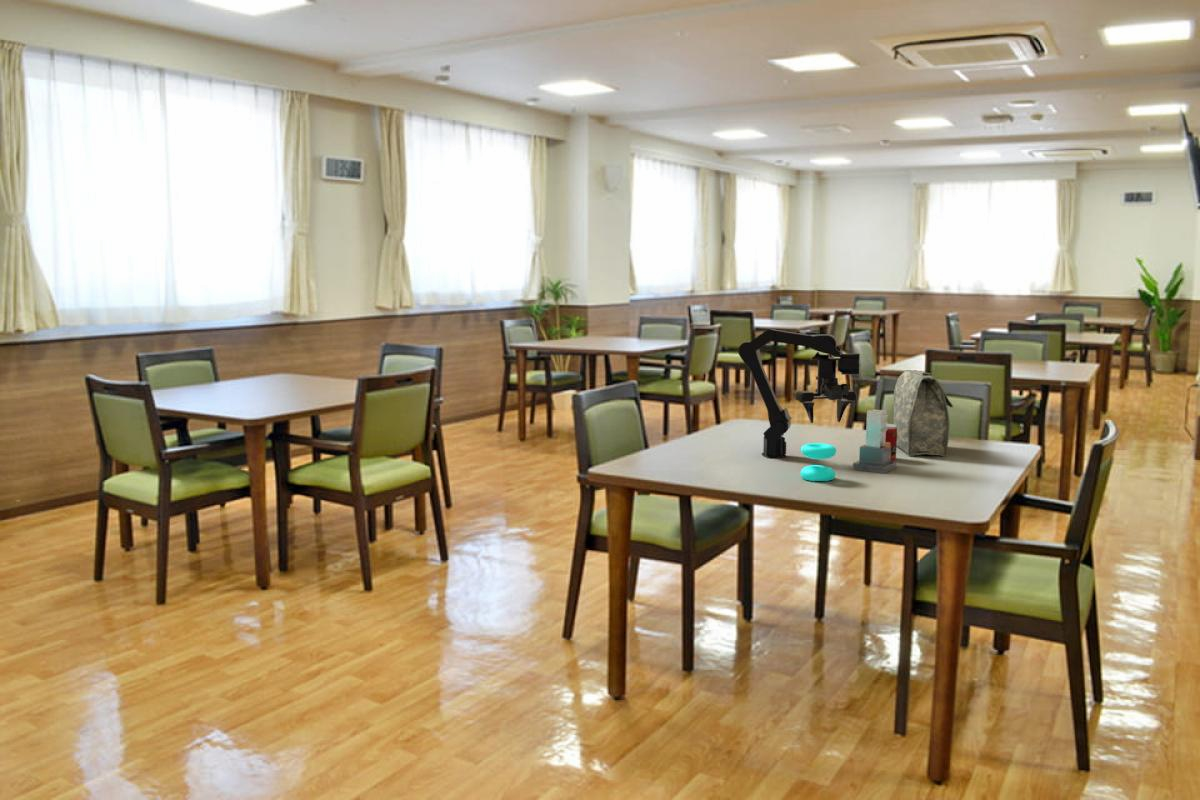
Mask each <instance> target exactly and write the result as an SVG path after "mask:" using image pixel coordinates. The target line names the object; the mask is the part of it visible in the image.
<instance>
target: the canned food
mask: <svg viewBox="0 0 1200 800" xmlns="http://www.w3.org/2000/svg"><path fill="white" fill-rule="evenodd" d="M886 428H887V431H886V441H885V443H886V442H891V444H890V446H891V460H893V461H896V458H897V448H898V447H897V425H893V423H888V424H886Z"/></svg>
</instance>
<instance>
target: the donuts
mask: <svg viewBox="0 0 1200 800" xmlns="http://www.w3.org/2000/svg"><path fill="white" fill-rule="evenodd" d="M800 449H801V450H800V451H801V453H802V455H803V456H805V457H807V458H808V459H813V460H828V459H831V458H832V457H834V456H835V455H836V453H837V449H836V447H835V446H834V445H833V444H828V443H822V442H812V443H811V442H810V443H805V444H803V445H802V446H801V448H800ZM800 476H801V478H802V479H803V480H805V481H810V482H815V481H825V482H830V480H831V481H832V480H834V479H835V478H836V472H835V470H834V469H833V468H832V467H830V466H826V465H823V464H822V465H821V464H820V465H819V464H818V465H817V464H814V465H813V464H812V465H807V466H804V467H802V469H801V470H800Z"/></svg>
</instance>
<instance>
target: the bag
mask: <svg viewBox="0 0 1200 800" xmlns="http://www.w3.org/2000/svg"><path fill="white" fill-rule="evenodd" d="M948 407H950V408H954V405H953V404H952V402H951V401H950V399H949V397H948V396H947V393H946V392H945V390H944V388H943V386H942V385H941V383H940V381H939V380H938V379H936V378H935V377H934V376H932V375H931V373H930V372H925V371H923V370H917V369H915V370H914V369H913V370H911V369H905V370H904V371H903V372H902V373H901V374H900V375H899V377H898V378H897V380H896V383H895V386H894V391H893V423H892V424H893V425H897V447H896V448H898V449H901V450H902V451H903V452H905V453H906V454H907V455H908V456H909V457H913V456H922V455H929V456H940V457H943V456H947V457H948V455H949V454H948V445H949V440H950V439H949V437H950V436H949V435H950V426H951V425H950V423H951V421H950V415H949V409H948Z"/></svg>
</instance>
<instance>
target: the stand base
mask: <svg viewBox="0 0 1200 800" xmlns="http://www.w3.org/2000/svg"><path fill="white" fill-rule="evenodd" d="M890 444H891V442H886V443H885V445H884V447H883V448H872V447H866V443H865V444H863V445H860V446H859V459H858V460H857V461H854V462H852V470H853V469H856V470H855V471H861V470H864V471H863V472H869V471H871V472H872V473H877V472H878V473H879V474H887V473H889V472H890V471H892V470H894V469H896V468H897V462H898V461H896V460H893V461H891V446H890ZM871 472H870V473H871Z"/></svg>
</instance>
